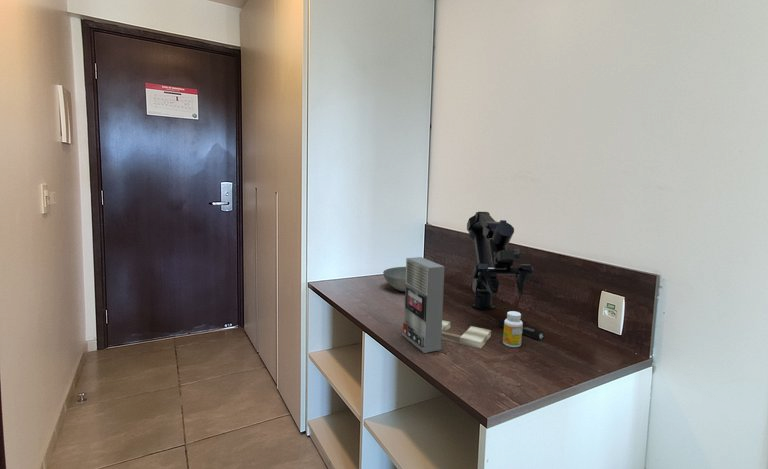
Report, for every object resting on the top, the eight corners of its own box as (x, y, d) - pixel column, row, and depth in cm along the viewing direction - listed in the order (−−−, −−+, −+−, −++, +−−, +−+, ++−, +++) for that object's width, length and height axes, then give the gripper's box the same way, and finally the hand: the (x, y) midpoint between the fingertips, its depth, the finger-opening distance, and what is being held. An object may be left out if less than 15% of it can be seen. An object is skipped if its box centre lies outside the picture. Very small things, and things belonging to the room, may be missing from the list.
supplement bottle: (500, 340, 128) (502, 310, 126) (516, 340, 128) (519, 310, 127) (506, 347, 122) (508, 316, 121) (524, 347, 123) (526, 316, 121)
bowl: (432, 297, 171) (433, 278, 169) (382, 295, 171) (382, 277, 170) (428, 283, 192) (428, 266, 190) (383, 282, 192) (383, 265, 191)
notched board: (440, 325, 139) (440, 319, 139) (490, 336, 131) (491, 330, 130) (427, 336, 129) (427, 330, 129) (480, 348, 121) (481, 342, 121)
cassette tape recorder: (401, 336, 129) (403, 258, 125) (418, 333, 132) (421, 257, 128) (423, 354, 117) (426, 268, 113) (441, 350, 119) (445, 266, 115)
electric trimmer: (502, 325, 142) (502, 316, 141) (545, 339, 130) (545, 329, 130) (496, 328, 139) (496, 319, 139) (539, 342, 128) (539, 332, 127)
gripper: (476, 239, 133) (483, 281, 124) (533, 240, 134) (544, 282, 124) (470, 258, 142) (475, 298, 133) (523, 259, 143) (532, 299, 133)
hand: (506, 294), depth 131 cm, fingers open, 9 cm apart
